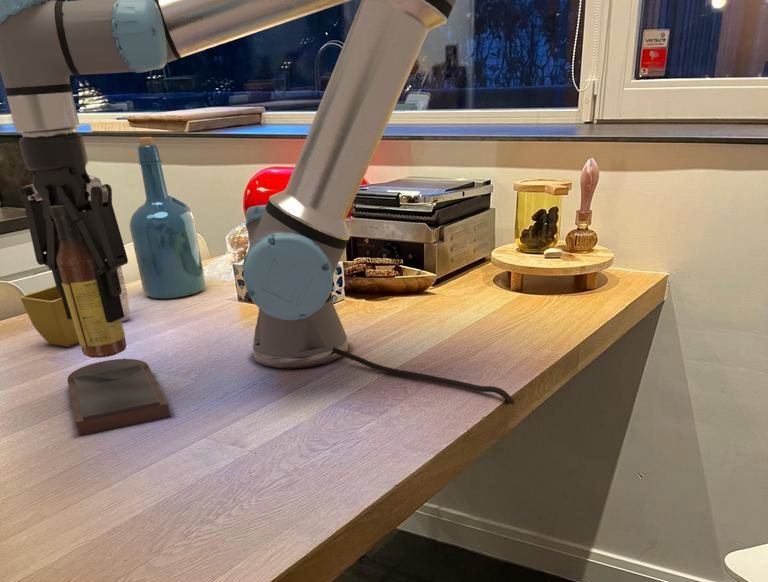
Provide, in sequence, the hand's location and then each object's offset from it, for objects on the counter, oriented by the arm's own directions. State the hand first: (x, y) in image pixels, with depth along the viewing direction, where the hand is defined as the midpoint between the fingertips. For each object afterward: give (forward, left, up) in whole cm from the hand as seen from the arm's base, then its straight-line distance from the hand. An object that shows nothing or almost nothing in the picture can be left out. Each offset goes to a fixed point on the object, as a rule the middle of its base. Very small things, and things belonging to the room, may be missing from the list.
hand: (95, 317), depth 108 cm
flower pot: (+28, -20, -12) cm, 36 cm away
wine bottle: (+30, -54, -12) cm, 63 cm away
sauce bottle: (0, 0, -5) cm, 5 cm away
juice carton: (+31, -32, -12) cm, 46 cm away
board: (+1, -1, -12) cm, 12 cm away
